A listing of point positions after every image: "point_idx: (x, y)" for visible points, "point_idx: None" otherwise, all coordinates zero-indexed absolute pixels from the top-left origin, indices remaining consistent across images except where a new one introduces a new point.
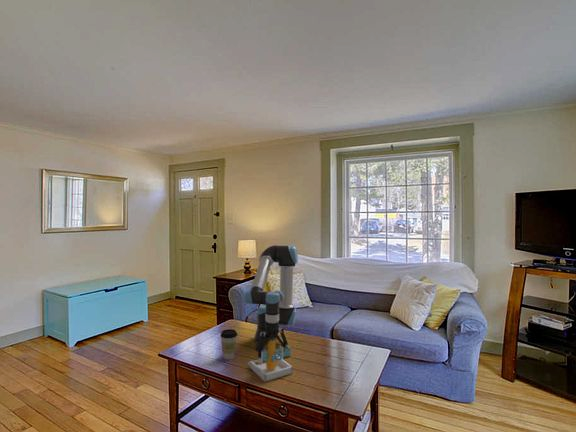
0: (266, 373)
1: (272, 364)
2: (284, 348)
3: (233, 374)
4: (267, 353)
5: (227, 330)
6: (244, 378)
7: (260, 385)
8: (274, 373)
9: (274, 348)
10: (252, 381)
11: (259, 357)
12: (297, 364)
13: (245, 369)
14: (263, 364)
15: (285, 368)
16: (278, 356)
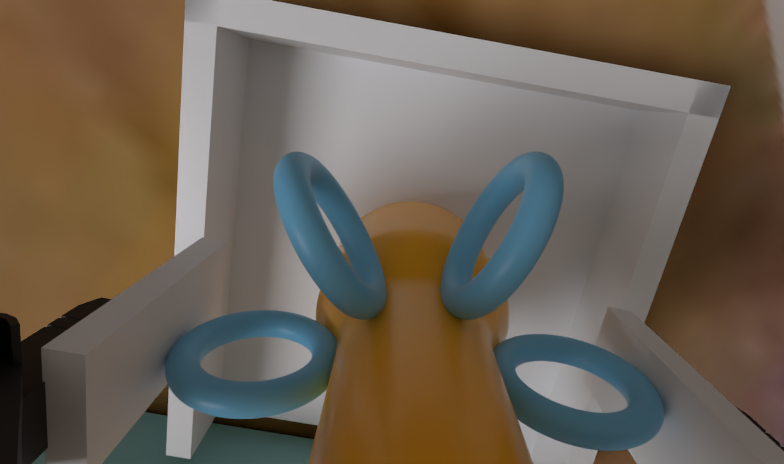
0: (676, 108)
1: (454, 228)
2: (32, 336)
3: None
4: (538, 415)
5: None
6: (766, 314)
7: (769, 56)
8: (546, 56)
9: (394, 407)
10: (758, 202)
11: (739, 410)
12: (22, 161)
13: (610, 453)
14: None
15: (325, 29)
16: (257, 310)
